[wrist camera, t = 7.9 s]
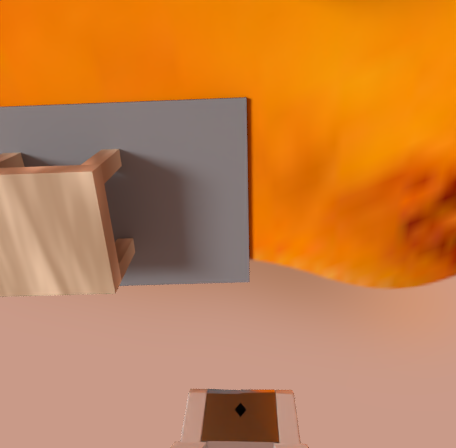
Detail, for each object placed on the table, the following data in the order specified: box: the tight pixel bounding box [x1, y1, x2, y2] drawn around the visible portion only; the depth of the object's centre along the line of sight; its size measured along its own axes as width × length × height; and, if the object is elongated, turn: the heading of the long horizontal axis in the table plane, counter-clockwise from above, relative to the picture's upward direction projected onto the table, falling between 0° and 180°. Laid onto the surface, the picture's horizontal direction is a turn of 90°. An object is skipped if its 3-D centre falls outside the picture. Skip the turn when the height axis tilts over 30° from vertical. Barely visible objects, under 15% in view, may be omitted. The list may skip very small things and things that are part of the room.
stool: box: [0, 149, 135, 297], centre depth 25 cm, size 6×8×8 cm
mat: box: [0, 97, 249, 286], centre depth 27 cm, size 20×14×1 cm
